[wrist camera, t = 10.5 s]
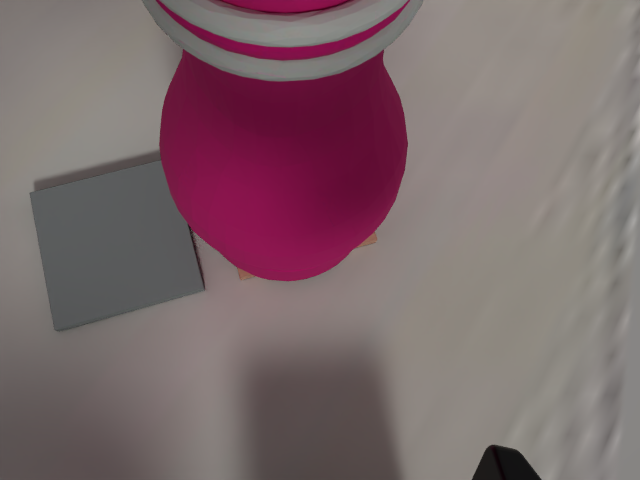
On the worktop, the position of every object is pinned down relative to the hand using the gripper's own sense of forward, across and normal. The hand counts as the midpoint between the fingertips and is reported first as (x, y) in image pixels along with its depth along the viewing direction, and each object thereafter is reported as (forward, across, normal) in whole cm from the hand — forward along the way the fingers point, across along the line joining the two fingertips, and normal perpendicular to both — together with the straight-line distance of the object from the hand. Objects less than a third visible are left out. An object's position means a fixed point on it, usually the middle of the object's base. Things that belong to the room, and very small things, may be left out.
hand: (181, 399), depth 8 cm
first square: (+12, +6, +5) cm, 14 cm away
